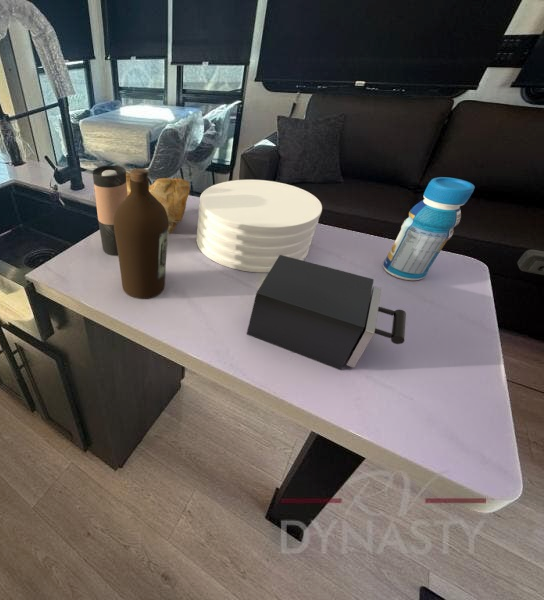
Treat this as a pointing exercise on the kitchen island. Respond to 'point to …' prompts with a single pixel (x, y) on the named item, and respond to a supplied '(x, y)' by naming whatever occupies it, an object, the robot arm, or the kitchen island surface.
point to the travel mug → (109, 201)
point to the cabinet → (311, 310)
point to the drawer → (369, 329)
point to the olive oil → (141, 239)
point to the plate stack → (256, 223)
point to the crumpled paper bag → (169, 197)
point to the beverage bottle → (427, 228)
